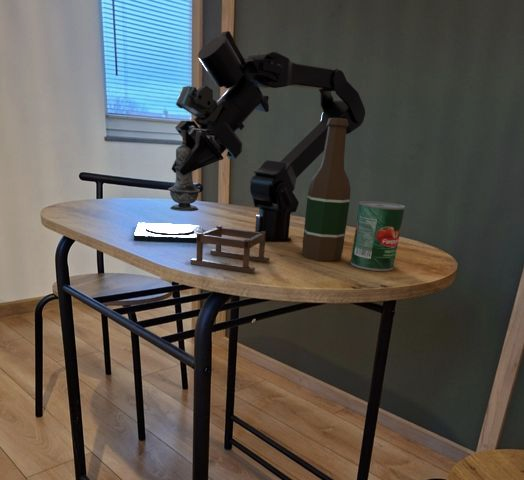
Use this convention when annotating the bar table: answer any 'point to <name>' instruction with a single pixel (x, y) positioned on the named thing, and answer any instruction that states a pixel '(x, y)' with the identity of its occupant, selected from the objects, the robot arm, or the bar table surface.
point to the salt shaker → (183, 184)
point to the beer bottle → (328, 199)
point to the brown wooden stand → (216, 238)
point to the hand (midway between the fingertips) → (176, 172)
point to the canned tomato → (377, 235)
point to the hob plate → (167, 232)
